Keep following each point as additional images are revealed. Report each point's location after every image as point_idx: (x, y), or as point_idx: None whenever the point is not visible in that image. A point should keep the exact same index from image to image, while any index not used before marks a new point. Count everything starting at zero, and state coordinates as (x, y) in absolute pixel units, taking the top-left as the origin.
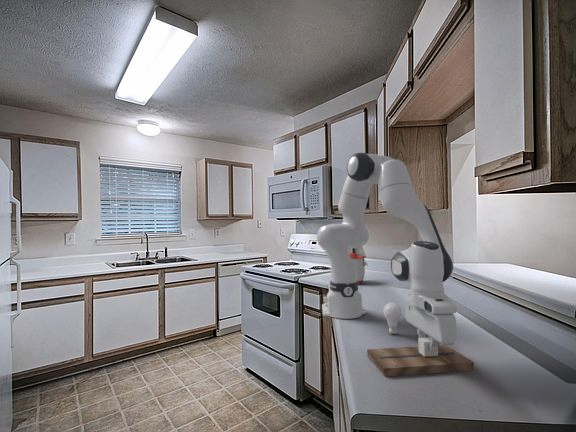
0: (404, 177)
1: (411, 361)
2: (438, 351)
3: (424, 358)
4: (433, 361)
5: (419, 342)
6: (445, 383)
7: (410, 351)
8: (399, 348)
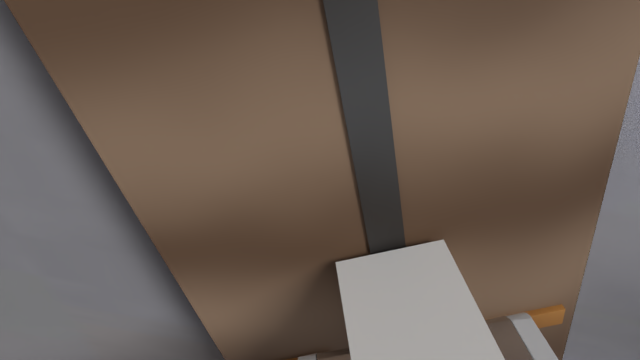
0: None
1: (215, 117)
2: None
3: (314, 250)
4: (256, 297)
5: (464, 339)
6: (37, 265)
7: (488, 169)
8: (604, 63)
